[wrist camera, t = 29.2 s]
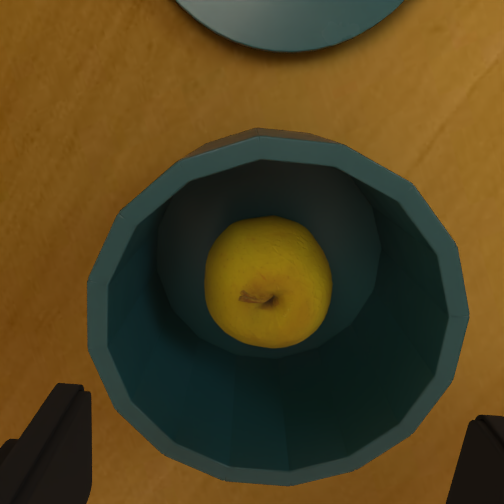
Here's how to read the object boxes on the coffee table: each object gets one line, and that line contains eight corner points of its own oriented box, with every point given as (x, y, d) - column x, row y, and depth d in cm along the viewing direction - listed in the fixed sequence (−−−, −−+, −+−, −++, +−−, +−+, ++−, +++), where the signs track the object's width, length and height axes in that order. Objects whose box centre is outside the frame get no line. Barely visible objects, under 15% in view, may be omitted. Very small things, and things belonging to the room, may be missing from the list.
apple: (198, 215, 26) (175, 257, 18) (308, 191, 25) (332, 223, 18) (224, 315, 28) (213, 392, 20) (327, 294, 27) (356, 364, 20)
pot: (142, 353, 29) (88, 471, 19) (149, 116, 25) (85, 117, 15) (367, 373, 29) (423, 498, 20) (412, 143, 25) (511, 160, 16)
